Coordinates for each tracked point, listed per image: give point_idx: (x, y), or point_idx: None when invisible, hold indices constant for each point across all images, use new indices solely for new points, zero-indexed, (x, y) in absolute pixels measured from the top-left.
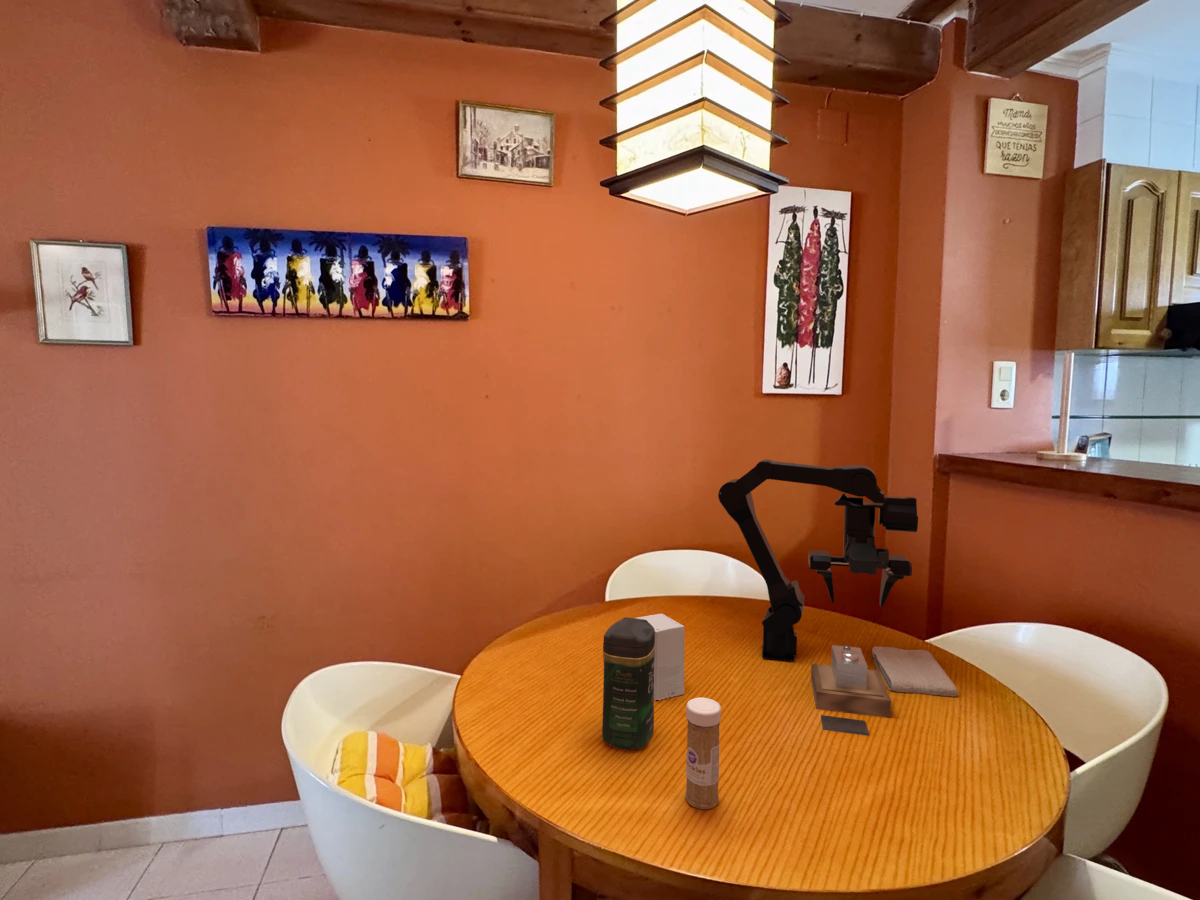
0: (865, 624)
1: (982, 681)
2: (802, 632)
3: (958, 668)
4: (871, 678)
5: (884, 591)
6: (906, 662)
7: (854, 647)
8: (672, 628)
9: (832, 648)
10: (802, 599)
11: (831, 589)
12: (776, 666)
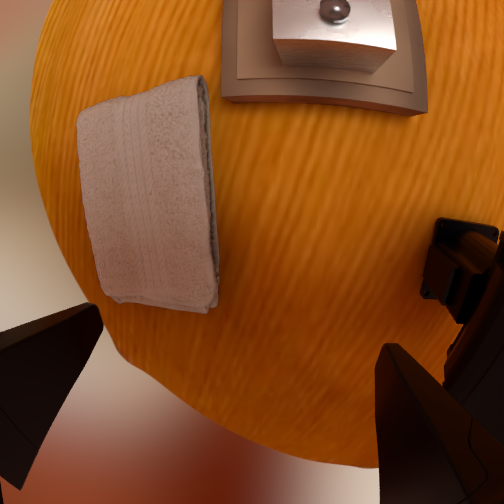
0: (218, 420)
1: (52, 205)
2: (357, 388)
3: (76, 254)
4: (253, 26)
5: (14, 341)
6: (140, 215)
7: (298, 36)
8: None
9: (392, 26)
10: (502, 364)
11: (441, 412)
12: (477, 185)
